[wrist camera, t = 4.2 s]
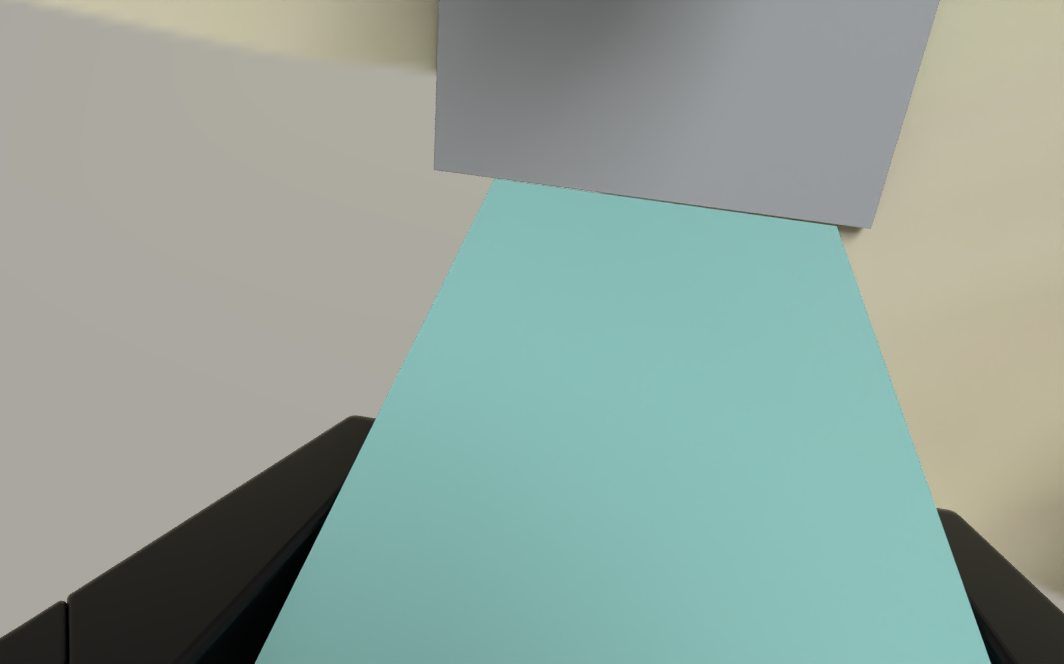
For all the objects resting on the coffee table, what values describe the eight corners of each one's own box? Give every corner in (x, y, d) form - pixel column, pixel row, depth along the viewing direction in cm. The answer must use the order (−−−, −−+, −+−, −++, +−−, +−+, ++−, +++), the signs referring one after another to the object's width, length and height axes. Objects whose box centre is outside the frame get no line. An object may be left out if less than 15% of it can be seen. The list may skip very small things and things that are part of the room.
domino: (808, 321, 14) (962, 968, 6) (488, 274, 14) (259, 829, 7) (836, 226, 13) (1053, 836, 5) (494, 179, 13) (242, 687, 6)
